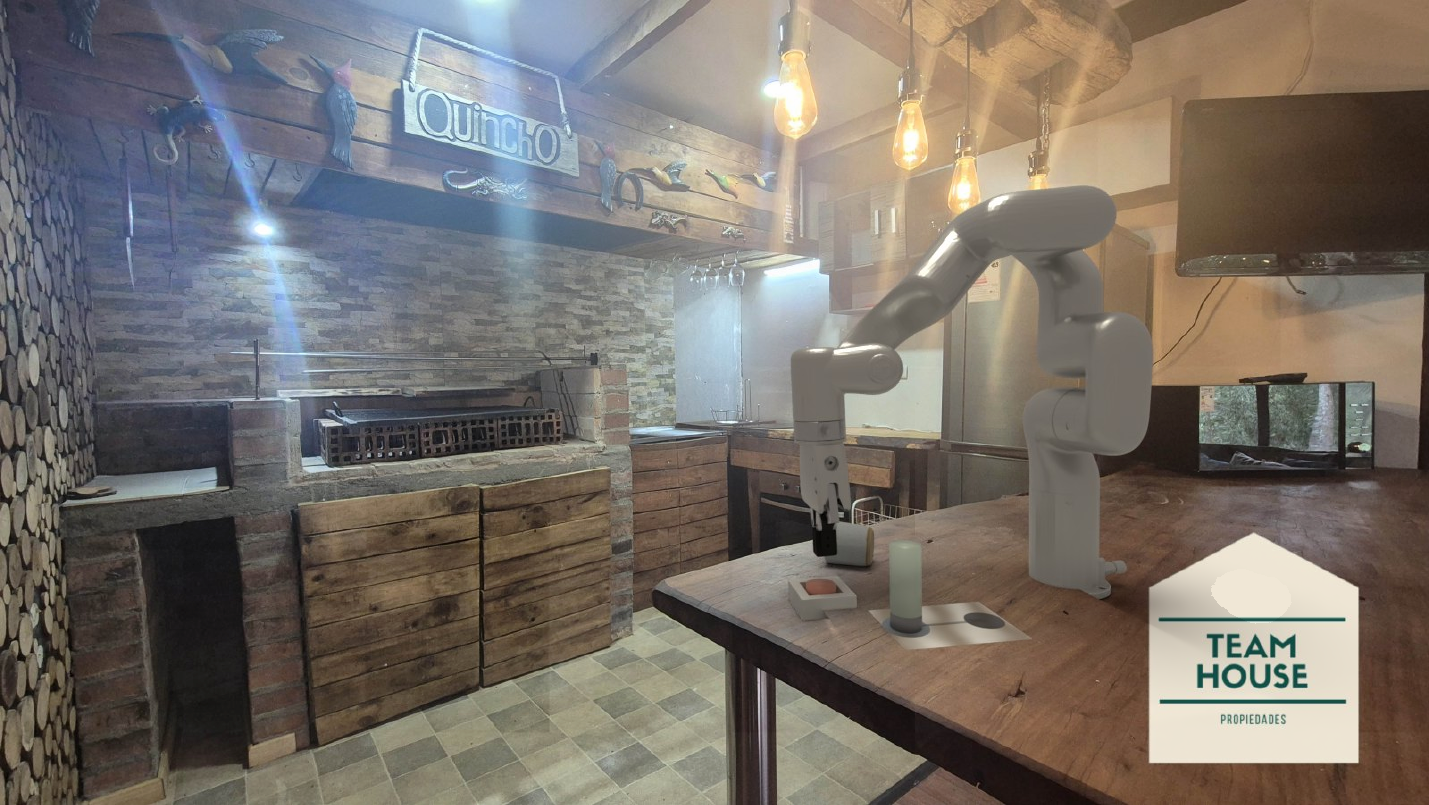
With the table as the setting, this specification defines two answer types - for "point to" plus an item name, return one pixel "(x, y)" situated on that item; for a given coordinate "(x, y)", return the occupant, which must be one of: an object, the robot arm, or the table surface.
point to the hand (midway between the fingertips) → (825, 554)
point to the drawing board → (953, 626)
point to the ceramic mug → (853, 545)
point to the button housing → (819, 598)
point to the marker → (905, 586)
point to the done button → (820, 587)
